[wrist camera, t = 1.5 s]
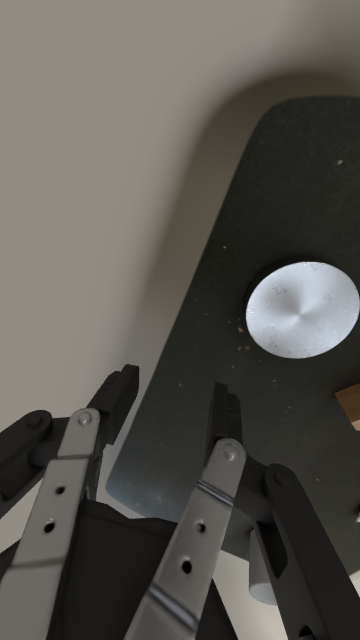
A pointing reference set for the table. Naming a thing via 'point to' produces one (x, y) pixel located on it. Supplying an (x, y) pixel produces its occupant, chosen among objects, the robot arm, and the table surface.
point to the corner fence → (351, 403)
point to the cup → (259, 574)
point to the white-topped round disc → (300, 307)
